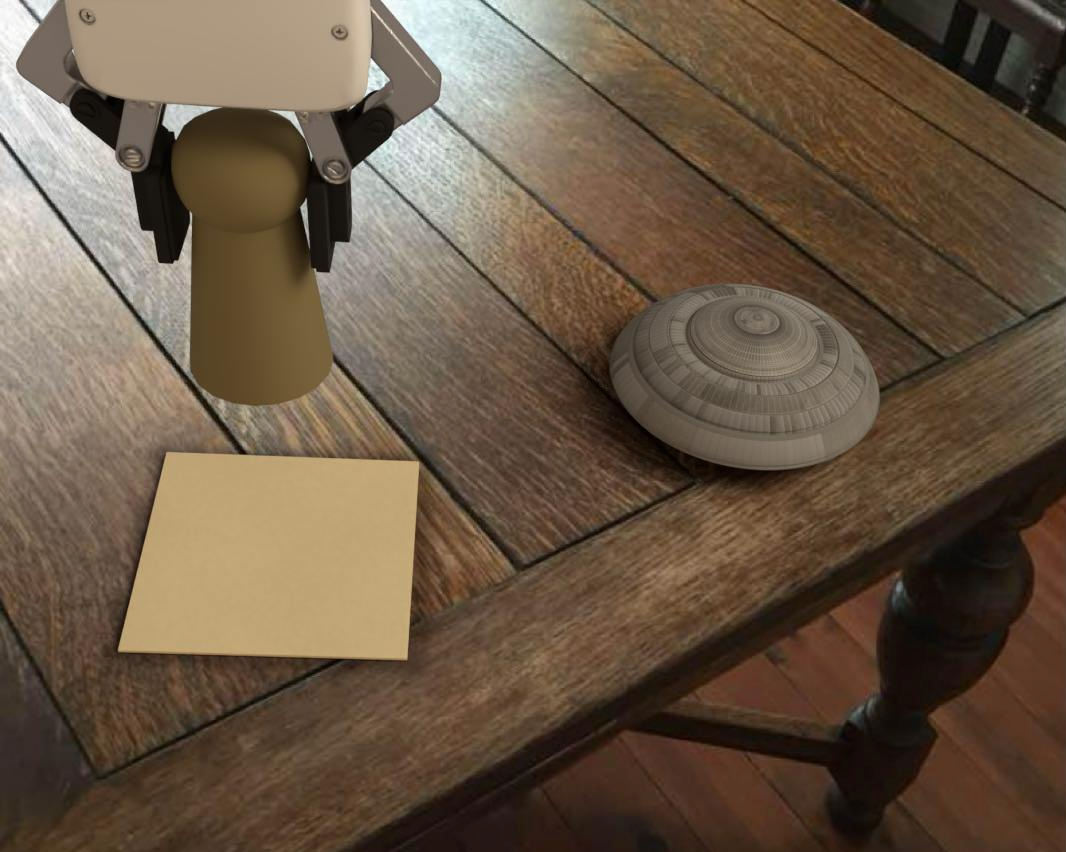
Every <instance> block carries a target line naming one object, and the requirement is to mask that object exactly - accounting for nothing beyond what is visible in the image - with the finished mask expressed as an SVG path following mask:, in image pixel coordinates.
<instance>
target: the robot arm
mask: <svg viewBox="0 0 1066 852" xmlns="http://www.w3.org/2000/svg"><path fill="white" fill-rule="evenodd" d="M371 60H372V62H373V63H375V65H376V66H377V67H378V68H379V69H380V70H381V71H382V72H383V74H384V75H385V76H386V77H387V78H388V79H389V80H388V81H387V82H386V83H384V86H383V87H381V88H380V89H376V90H375V89H374V90H372V91H369V93H367V91H368V84H369V71H370V68H371ZM15 68H16V71H17V73H18V74H19V76H20V77H22V78H23V79H24V80H25V81H27V82H28V83H30V84H31V85H32V86H33V87H35V88H37V89H38V90H40V91H42V93H44V94H45V95H46V96H48V97H49V98H50V99H52V100H54V101H55V102H57V103H58V104H59V105H61V104H62V105H65V106H66V107H67V108H68V109H69V112H70V114H71V116H72V117H73V118H75V120H76V121H77V122H79V123H80V124H81V125H82V126H84V127H85V128H86V129H87V130H88V131H89V132H91V133H92V134H93V135H94V136H96V137H97V138H98V139H100V140H101V141H102V142H103V143H104V144H105V145H107V146H108V147H109V148H110V149H112V150H113V151H114V155H115V156H114V158H115V160H116V162H117V163H118V165H119V167H121V168H122V169H124V170H125V171H128V172H130V176H131V181H132V188H133V194H134V199H135V205H136V211H137V217H138V223H139V228H140V230H141V231H142V232H152V234H153V239H154V245H155V252H156V253H155V254H156V258H157V262H158V264H165V265H167V264H168V265H173V264H174V263H175V261H179V260H180V258H181V253H182V251H183V248H184V244H185V241H186V238H187V235H188V231H189V228H190V224H191V212H190V211H189V210H188V209H187V208H186V207H185V205H184V204H183V202H182V201H181V199H180V197H179V195H178V193H177V191H176V189H175V186H174V183H173V177H172V171H171V154H172V147H173V144H174V143H175V141H176V139H177V138H176V135H175V131H173V130H172V131H171V130H169V128H167V127H166V126H165V125H164V122H165V121H164V120H165V116H166V112H167V108H168V107H167V106H168V105H178V106H179V105H181V106H192V107H193V106H195V107H208V108H209V107H210V108H222V107H223V108H240V109H258V110H269V111H274V112H276V111H277V112H293V113H294V115H295V117H296V120H297V122H298V125H299V127H300V129H301V132H302V134H303V137H304V138H305V140H306V143H307V146H308V149H309V152H310V155H311V156H312V157H311V163H312V164H311V166H310V170H309V174H308V179H307V184H306V213H307V226H308V227H307V228H308V244H309V248H310V259H311V268H314V270H315V273H323V274H324V273H326V274H331V269H332V265H333V264H332V263H333V259H334V252H335V249H336V248H335V246H336V243H346V244H347V243H348V244H349V243H351V238H352V237H351V236H352V232H353V231H352V230H353V203H352V201H353V200H352V171H353V170H354V169H355V168H357V166H359V165H360V164H361V163H362V162H363V161H364V160H366V159H368V157H369V156H370V155H372V154H373V153H374V152H375V151H377V150H378V149H379V148H380V147H381V146H382V145H384V144H385V142H387V141H388V140H389V139H390V138H391V137H392V135H393V133H394V131H396V130H397V129H399V128H400V127H401V126H405V125H407V124H408V123H410V122H411V121H412V120H414V119H415V118H417V117H418V116H419V115H421V114H422V113H424V112H425V111H426V110H428V109H429V108H431V107H433V106H434V105H436V103H437V102H438V101H439V99H440V97H441V91H442V90H441V89H442V80H443V77H442V72H441V70H440V68H439V67H438V66H437V65H436V64H435V62H433V60H432V59H431V58H430V57H429V55H428V54H427V53H426V52H425V51H424V49H422V47H421V46H420V45H419V44H418V42H417V41H416V40H415V39H414V38H413V37H412V35H411V34H410V33H409V32H408V31H407V30H406V28H405V27H404V26H403V24H402V23H401V22H400V21H399V20H398V18H397V17H396V16H395V15H394V14H393V13H392V12H391V10H390V9H389V8H388V7H387V5H385V3H384V2H383V1H382V0H56V2H55V3H54V4H53V5H52V6H51V8H50V10H49V11H48V12H47V14H46V15H45V16H44V18H43V19H42V21H40V23H39V24H38V26H37V27H36V28H35V30H34V32H33V33H32V34H31V36H29V39H28V40H27V41H26V42H25V45H24V46H23V48H22V50H21V52H20V54H19V55H18V57H17V60H16V61H15ZM351 107H352V108H351Z"/></svg>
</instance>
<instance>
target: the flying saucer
mask: <svg viewBox="0 0 1066 852" xmlns="http://www.w3.org/2000/svg"><path fill="white" fill-rule="evenodd" d="M610 351H611V352H610V356H609V374H610V379H611V383H612V386H613V388H614V391H615V393H616V396H617V397H618V399H619V400H620V402H621V404H622V405H623V407H624V408H625V409H626V411H627V412H628V413H629V415H631V417H633V419H634V420H635V421H636V422H637V423H639V424H640V426H641V427H642V428H644V429H645V430H647V432H649V433H650V434H652V435H653V436H655V437H656V438H657V439H659V440H660V441H662V442H664V443H665V444H667V445H669V446H670V447H672V448H675V449H676V450H678V451H681V452H682V453H685V454H687V455H689V456H692V457H695V458H698V459H700V460H703V461H706V462H710V463H713V464H717V465H720V466H725V467H730V468H735V469H736V468H737V469H743V470H751V471H752V470H753V471H785V470H793V469H794V470H796V469H800V468H806V467H810V466H814V465H818V464H822V463H824V462H827V461H829V460H832V459H834V458H836V457H838V456H840V455H842V454H844V453H845V452H847V451H849V450H850V449H852V448H853V447H855V446H856V445H857V444H858V443H859V442H860V441H861V440H863V438H865V436H866V435H867V434H868V433H869V431H870V430H871V429H872V427H873V425H874V423H875V421H876V418H877V416H878V412H879V409H880V402H881V401H880V397H881V393H880V386H879V382H878V379H877V376H876V372H875V370H874V367H873V365H872V363H871V361H870V359H869V358H868V356H867V354H866V352H865V351H864V350H863V348H862V347H861V345H860V344H859V343H858V341H857V340H856V339H855V337H854V336H853V335H852V334H851V333H850V332H849V330H847V328H845V327H844V325H842V324H841V323H840V322H839V321H837V320H836V319H835V318H834V317H833V316H832V315H830V314H829V313H827V312H826V311H824V310H822V309H821V308H819V307H818V306H816V305H814V304H812V303H810V302H809V301H807V300H805V299H802V298H800V297H798V296H795V295H792V294H790V293H787V292H785V291H781V290H777V289H773V288H770V287H765V286H759V285H754V284H745V283H714V284H706V285H700V286H695V287H690V288H686V289H685V290H680V291H678V292H674V293H672V294H670V295H667V296H665V297H662V298H661V299H659V300H657V301H656V302H654V303H652V304H650V305H648V306H647V307H645V309H642V311H640V312H639V313H638V314H636V315H635V316H634V317H632V319H631V320H630V321H628V323H627V324H626V325H625V326H624V327H623V328H622V330H621V331H620V332H619V334H618V336H617V337H616V339H615V341H614V343H613V346H612V348H611V350H610Z"/></svg>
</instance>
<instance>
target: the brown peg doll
mask: <svg viewBox="0 0 1066 852" xmlns="http://www.w3.org/2000/svg"><path fill="white" fill-rule="evenodd" d="M175 139H176V141H175V143H174V144H173V147H172V154H171V171H172V177H173V183H174V186H175V189H176V191H177V193H178V195H179V197H180V199H181V201H182V202H183V204H184V205H185V207H186V208H187V209H188V210H189V211H190V214H191V247H190V248H191V249H190V250H191V255H190V314H189V316H190V317H189V323H190V324H189V370H190V374H191V375H192V377H193V379H194V380H195V381H196V384H197V385H198V386H199V387H200V388H202V389H203V390H204V391H206V392H207V393H208V394H210V395H211V396H213V397H215V398H217V399H219V400H223V401H225V402H228V403H231V404H235V405H242V406H243V405H244V406H252V407H261V406H262V407H263V406H274V405H281V404H284V403H287V402H290V401H293V400H296V399H300V398H301V397H304V396H305V395H307V394H309V393H311V392H312V391H313V390H315V389H317V388H318V387H319V386H320V385H321V384H322V383H323V382H324V381H325V380H326V379H327V377H328V376H329V375H330V372H331V369H332V367H333V363H334V355H333V348H332V343H331V338H330V335H329V330H328V325H327V321H326V316H325V313H324V312H325V311H324V308H323V304H322V299H321V293H320V290H319V284H318V279H317V276H316V270H315V269H314V268H311V259H310V244H309V238H308V236H307V230H306V227H305V221H304V217H303V213H302V209H301V207H302V206H303V205H304V204H305V202H306V201H307V199H306V184H307V179H308V174H309V170H310V166H311V164H312V163H311V161H312V157H311V151H310V149H309V146H308V144H307V141H306V139H305V137H304V135H302V133H301V132H300V131H299V129H298V128H297V127H296V125H295V124H294V123H293V122H292V120H291V119H289V118H287V117H285V116H284V115H282V114H281V113H279V112H276V111H273V110H258V109H240V108H223V107H217V108H213V109H210V110H207V111H206V112H203V113H201V114H198V115H196V116H194V117H193V118H191V119H190V120H189V121H188V122H186V123H185V124H184V125H183V126H182V128H181V130H180V132H179V133H178V135H177V137H176V138H175Z"/></svg>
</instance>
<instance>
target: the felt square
mask: <svg viewBox="0 0 1066 852" xmlns="http://www.w3.org/2000/svg"><path fill="white" fill-rule="evenodd" d="M419 472H420V461H416V460H392V459H390V460H388V459H387V460H386V459H366V458H365V459H363V458H338V457H336V458H335V457H313V456H311V457H309V456H285V455H284V456H283V455H282V456H281V455H259V454H258V455H256V454H255V455H254V454H234V453H233V454H231V453H229V454H228V453H206V452H205V453H204V452H203V453H202V452H179V451H178V452H175V451H166V453H165V457H164V461H163V465H162V469H161V474H160V477H159V480H158V485H157V489H156V493H155V497H154V502H153V505H152V510H151V514H150V518H149V521H148V525H147V529H146V533H145V537H144V541H143V542H144V543H143V546H142V550H141V554H140V558H139V561H138V567H137V570H136V575H135V579H134V583H133V587H132V591H131V594H130V599H129V604H128V608H127V610H126V615H125V619H124V624H123V627H122V631H121V635H120V640H119V644H118V647H117V652H118V653H130V654H131V653H133V654H164V655H165V654H166V655H167V654H169V655H202V656H203V655H204V656H205V655H206V656H235V657H238V656H239V657H241V656H242V657H268V658H269V657H271V658H272V657H273V658H306V659H307V658H311V659H337V660H338V659H340V660H341V659H342V660H343V659H344V660H372V661H373V660H374V661H377V660H378V661H379V660H380V661H408V657H409V656H408V653H409V638H410V637H409V636H410V624H411V623H410V622H411V604H412V590H413V573H414V557H415V542H416V541H415V540H416V524H417V508H418V507H417V506H418V490H419V488H418V487H419V475H420V473H419Z"/></svg>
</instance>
